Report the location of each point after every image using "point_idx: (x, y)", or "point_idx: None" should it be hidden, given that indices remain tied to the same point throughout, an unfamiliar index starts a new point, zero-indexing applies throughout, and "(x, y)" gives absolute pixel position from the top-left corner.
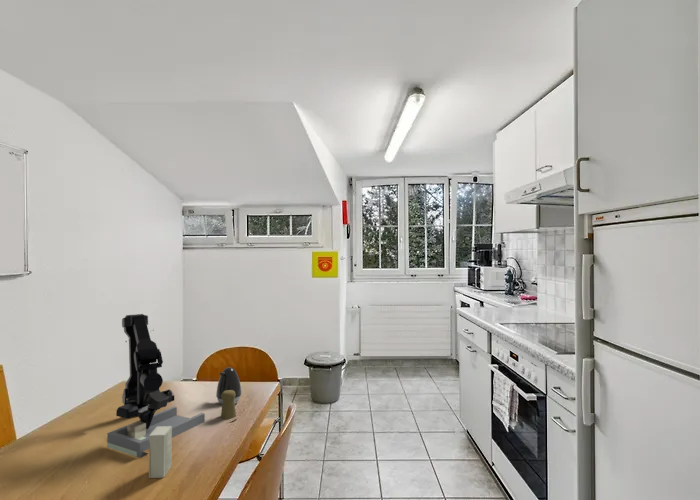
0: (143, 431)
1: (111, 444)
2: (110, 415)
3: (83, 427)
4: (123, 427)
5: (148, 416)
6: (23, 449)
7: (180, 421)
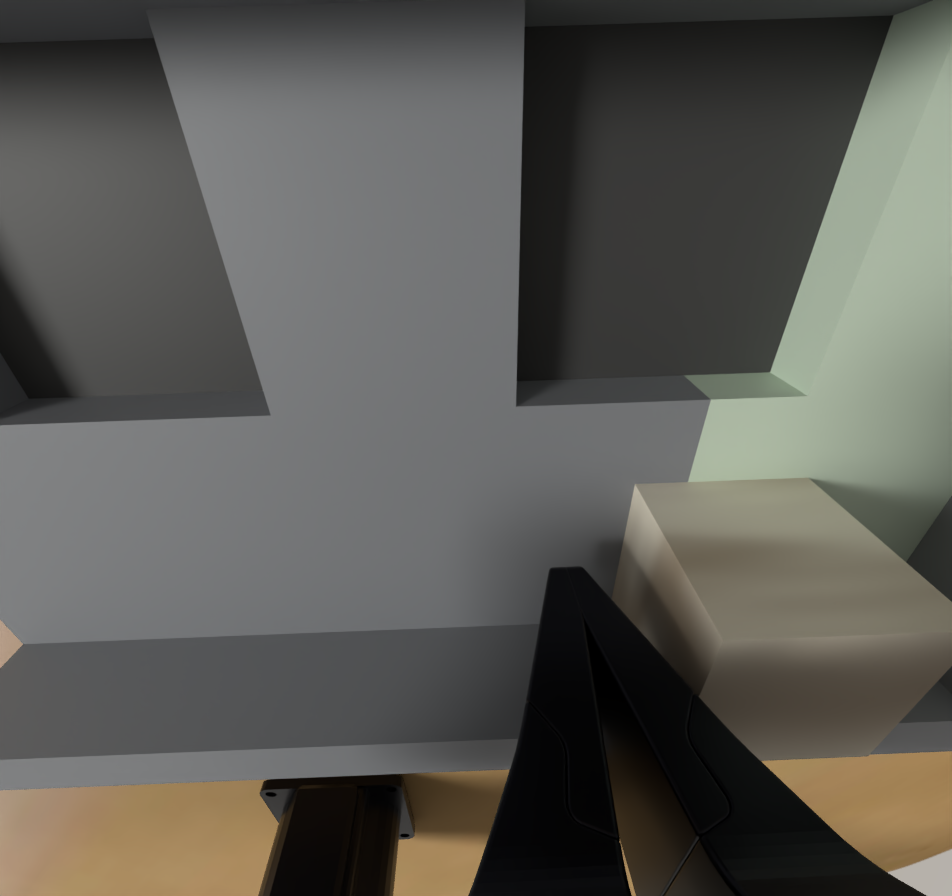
0: (706, 529)
1: None
2: (422, 870)
3: None
4: None
5: (683, 794)
6: (906, 839)
7: (26, 456)
